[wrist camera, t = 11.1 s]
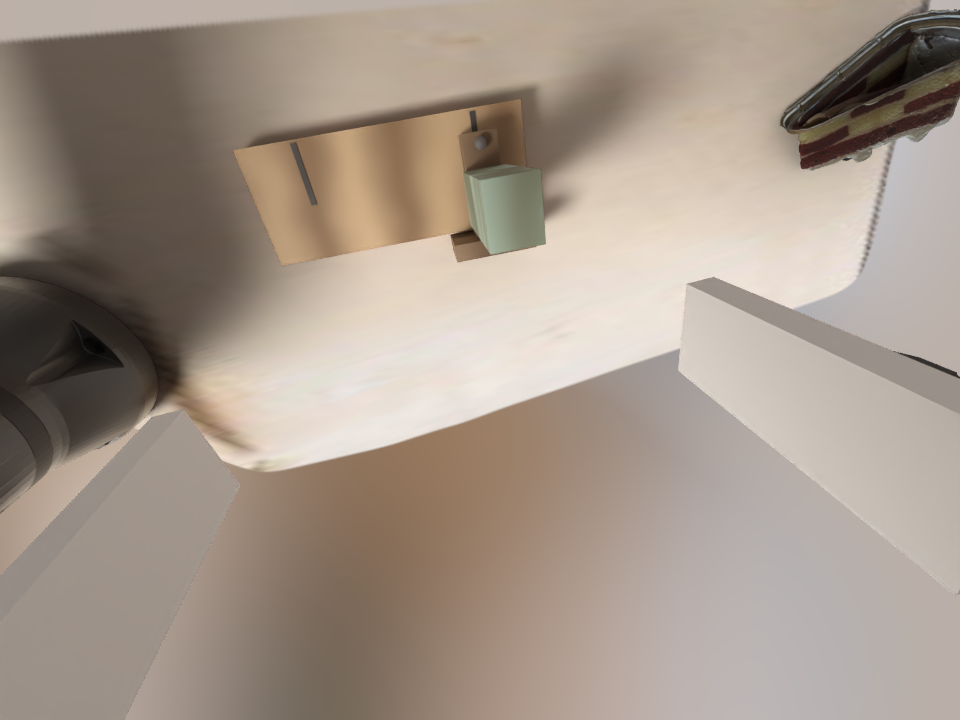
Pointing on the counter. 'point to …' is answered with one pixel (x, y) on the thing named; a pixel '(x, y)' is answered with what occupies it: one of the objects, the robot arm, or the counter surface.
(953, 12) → the chocolate cake
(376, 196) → the oak board
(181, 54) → the counter surface
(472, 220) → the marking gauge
